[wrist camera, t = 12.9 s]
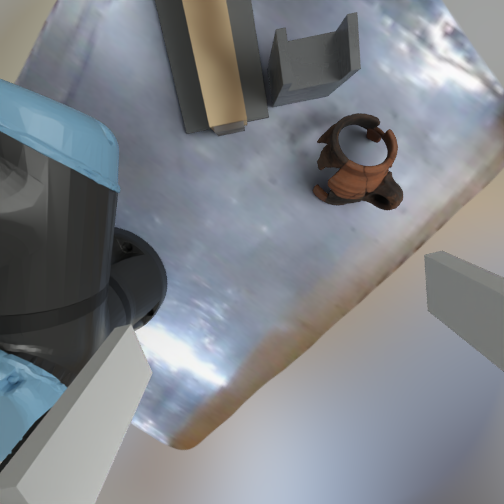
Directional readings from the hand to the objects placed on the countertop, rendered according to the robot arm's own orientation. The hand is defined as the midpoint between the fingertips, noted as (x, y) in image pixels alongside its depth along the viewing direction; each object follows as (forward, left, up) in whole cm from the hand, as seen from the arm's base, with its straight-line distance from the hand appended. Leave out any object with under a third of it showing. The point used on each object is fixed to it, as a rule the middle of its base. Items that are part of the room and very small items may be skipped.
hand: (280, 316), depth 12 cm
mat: (-2, +19, -26) cm, 33 cm away
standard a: (+7, +14, -26) cm, 31 cm away
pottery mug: (+12, +3, -26) cm, 29 cm away
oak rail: (-1, +19, -25) cm, 32 cm away
